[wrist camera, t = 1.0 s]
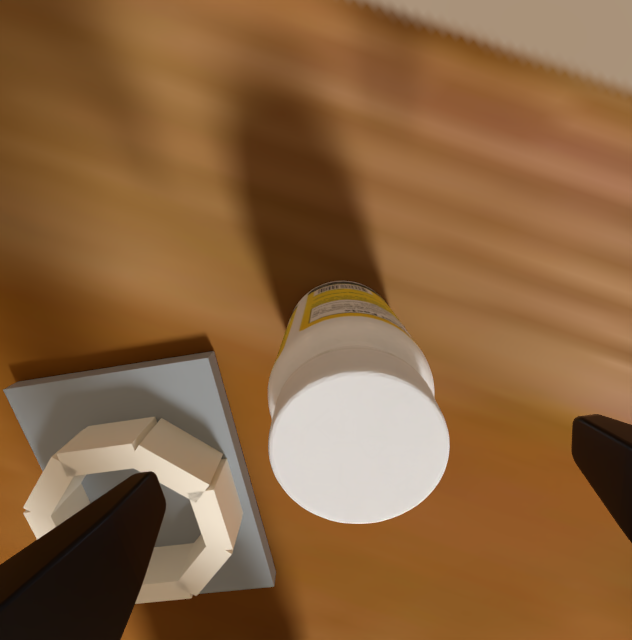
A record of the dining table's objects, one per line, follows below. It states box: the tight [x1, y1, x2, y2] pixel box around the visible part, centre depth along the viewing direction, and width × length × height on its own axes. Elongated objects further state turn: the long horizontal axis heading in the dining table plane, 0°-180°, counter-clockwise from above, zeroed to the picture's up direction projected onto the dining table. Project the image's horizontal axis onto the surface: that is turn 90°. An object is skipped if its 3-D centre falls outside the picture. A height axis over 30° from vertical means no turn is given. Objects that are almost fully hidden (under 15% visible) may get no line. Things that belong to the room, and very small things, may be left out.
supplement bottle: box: [268, 281, 450, 524], centre depth 11 cm, size 5×5×8 cm
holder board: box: [3, 351, 276, 604], centre depth 17 cm, size 14×10×3 cm
